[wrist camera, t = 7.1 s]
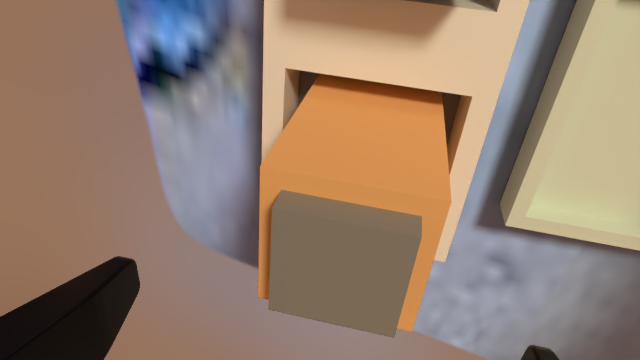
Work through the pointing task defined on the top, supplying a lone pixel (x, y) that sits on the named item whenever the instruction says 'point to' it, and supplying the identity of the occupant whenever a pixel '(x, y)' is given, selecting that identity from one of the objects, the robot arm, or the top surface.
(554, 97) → the tray
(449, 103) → the cream slotted rack
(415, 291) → the plug
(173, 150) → the top surface
